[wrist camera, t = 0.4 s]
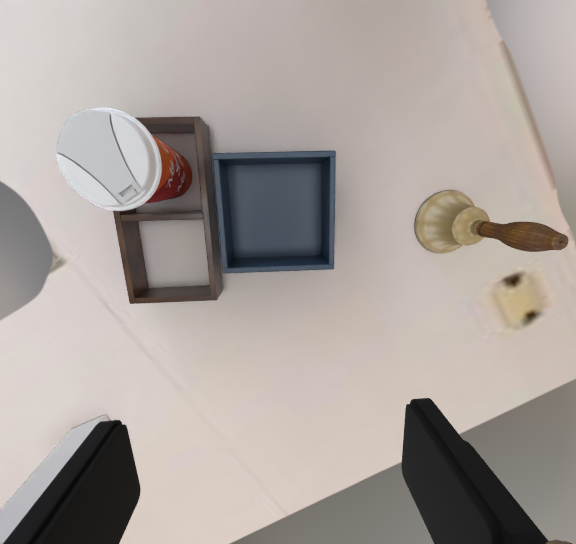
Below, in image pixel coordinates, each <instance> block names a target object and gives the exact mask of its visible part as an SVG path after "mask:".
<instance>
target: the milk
mask: <svg viewBox="0 0 576 544" xmlns="http://www.w3.org/2000/svg"><path fill="white" fill-rule="evenodd" d="M101 421H110V420H109V419H108V418H107V416H106V415H103V416H101V417H99V418H96V419H94V420H92V421H89V422H87V423H84V424H82V425H80V426H77V427H75V428H72V429H71V430H70V431H69V432H68V433H67V434H66V436H65V437H64V438H63V439H62V440H61V441H60V442H59V444H58V445H57V446H56V447H55V448H54V449H53V450H52V451H51V453H50V454H49V455H48V456H47V457H46V458H45V459H44V461H43V462H42V463H41V464H40V465H39V466H38V467H37V469H36V470H35V471H34V472H33V473H32V474H31V475H30V476H29V478H28V479H27V480H26V481H25V482H24V483H23V484H22V486H21V487H20V488H19V489H18V490H17V491H16V492H15V494H14V495H13V496H12V497H11V498H10V499H9V500H8V501H7V503H6V504H5V505H4V506H3V507H2V508H1V509H0V544H3V543H4V542H5V540H6V539H7V538H8V536H9V535H10V534H11V533H12V531H13V530H14V529H15V528H16V526H17V525H18V524H19V522H20V521H21V520H22V519H23V517H24V516H25V515H26V514H27V512H28V511H29V510H30V509H31V507H32V506H33V505H34V503H35V502H36V501H37V500H38V498H39V497H40V496H41V495H42V493H43V492H44V491H45V489H46V488H47V487H48V486H49V484H50V483H51V482H52V481H53V479H54V478H55V477H56V475H57V474H58V473H59V472H60V470H61V469H62V468H63V467H64V465H65V464H66V463H67V461H68V460H69V459H70V458H71V456H72V455H73V454H74V453H75V451H76V450H77V449H78V447H79V446H80V445H81V444H82V442H83V441H84V440H85V439H86V437H87V436H88V435H89V433H90V432H91V431H92V430H93V428H94V427H95V426H96V425H97V424H98V423H99V422H101Z"/></svg>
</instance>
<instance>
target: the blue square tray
mask: <svg viewBox="0 0 576 544" xmlns="http://www.w3.org/2000/svg"><path fill="white" fill-rule="evenodd" d="M212 155H213V166H214V178H215V189H216V201H217V212H218V224H219V235H220V246H221V258H222V270H223V273H246V272H273V271H299V270H326V269H334V226H335V156H336V151H298V152H249V153H213V154H212Z"/></svg>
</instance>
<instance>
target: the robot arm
mask: <svg viewBox="0 0 576 544" xmlns="http://www.w3.org/2000/svg"><path fill="white" fill-rule="evenodd" d="M402 473H403V477H404V479H405V482H406V484H407V486H408V488H409V490H410V492H411V495H412V497H413V499H414V501H415V503H416V505H417V508H418V509H419V512H420V514H421V516H422V518H423V520H424V522H425V525H426V526H427V529H428V531H429V533H430V535H431V537H432V540H433V542H434V544H572V543H569V542H566V541H559V540H554V541H548V540H547V539H546V538H545V536H544V535H543V534H542V533H541V531H540V530H539V529H538V528H537V526H536V525H535V524H534V523H533V521H532V520H531V519H530V518H529V516H528V515H527V514H526V513H525V511H524V510H523V509H522V508H521V506H520V505H519V504H518V503H517V501H516V500H515V499H514V498H513V497H512V495H511V494H510V493H509V492H508V490H507V489H506V488H505V486H504V485H503V484H502V483H501V482H500V480H499V479H498V478H497V476H496V475H495V474H494V473H493V471H492V470H491V469H490V468H489V467H488V465H487V464H486V463H485V462H484V460H483V459H482V458H481V457H480V455H479V454H478V453H477V452H476V450H475V449H474V448H473V447H472V446H471V445H470V444H469V443H468V442H466V441H464V440H463V439H462V438H461V437H460V435H459V434H458V433H457V432H456V430H455V429H454V428H453V426H452V425H451V424H450V423H449V421H448V420H447V419H446V418H445V416H444V415H443V414H442V412H441V411H440V410H439V409H438V407H437V406H436V405H435V404H434V402H433V401H432V400H431V399H429V398H423V399H412V400H411V402H410V404H407V405H406V413H405V426H404V440H403V454H402ZM139 496H140V484H139V479H138V475H137V470H136V466H135V461H134V457H133V452H132V448H131V443H130V439H129V435H128V430H127V427H126V425H122V422H121V421H120V420H114V421H101V422H99V423H98V424H97V425H96V426H95V427H94V428H93V430H92V431H91V432H90V433H89V435H88V436H87V437H86V439H85V440H84V441H83V442H82V444H81V445H80V446H79V447H78V449H77V450H76V451H75V453H74V454H73V455H72V456H71V458H70V459H69V460H68V461H67V463H66V464H65V465H64V467H63V468H62V469H61V470H60V472H59V473H58V474H57V475H56V477H55V478H54V479H53V481H52V482H51V483H50V484H49V486H48V487H47V488H46V489H45V491H44V492H43V493H42V495H41V496H40V497H39V498H38V500H37V501H36V502H35V503H34V505H33V506H32V507H31V509H30V510H29V511H28V512H27V514H26V515H25V516H24V517H23V519H22V520H21V521H20V522H19V524H18V525H17V526H16V528H15V529H14V530H13V531H12V533H11V534H10V535H9V536H8V538H7V539H6V540H5V542H4V543H3V544H119V542H120V540H121V538H122V536H123V534H124V531H125V529H126V527H127V525H128V522H129V520H130V518H131V516H132V514H133V511H134V509H135V507H136V505H137V502H138V500H139Z"/></svg>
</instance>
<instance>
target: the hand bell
mask: <svg viewBox="0 0 576 544" xmlns="http://www.w3.org/2000/svg"><path fill="white" fill-rule="evenodd" d="M415 232H416V236H417V238H418V240H419V242H420V243H421V245H422V246H423V247H424V248H426V249H427V250H429V251H431V252H435V253H447V252H451V251H454V250H456V249H458V248H460V247H461V246H462V245H473V244H475V243H478V242H479V241H481V240H482V239H483V238H484V237H487V238H494V239H498V240H500V241H501V242H503V243H504V244H506V245H508V246H510V247H512V248H515V249H519V250H523V251H529V252H539V251H547V250H561V249H563V248H565V247H566V246H567V244H568V237H567V236H566V235H564V234H561V233H559V232H557V231H555V230H553V229H552V228H550V227H548V226H546V225H543V224H539V223H534V222H513V223H508V224H498V223H493V222H490V220H489V217H488V215H487V213H486V212H485V211H484V210H483V209H481V208H478V207H475V206H474V204H473V202H472V201H471V200H470V199H469V198H468V197H467V196H466V195H465V194H463V193H461V192H458V191H454V190H447V191H442V192H439V193H436V194H434V195H433V196H431V197H430V198H429V199H428V200H427V201H425V202H424V204H423V205H422V206H421V208H420V210H419V212H418V214H417V217H416V221H415Z"/></svg>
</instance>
